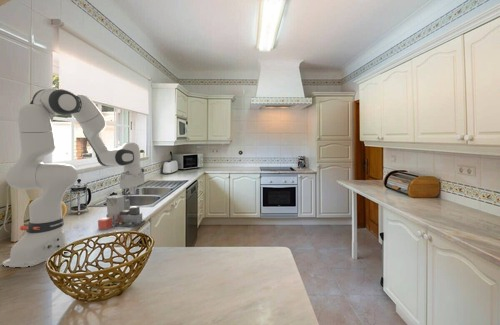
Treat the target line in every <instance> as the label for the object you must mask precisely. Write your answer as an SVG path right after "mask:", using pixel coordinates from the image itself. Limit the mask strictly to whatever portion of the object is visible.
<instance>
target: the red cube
mask: <svg viewBox="0 0 500 325" xmlns="http://www.w3.org/2000/svg"><path fill="white" fill-rule="evenodd" d="M97 224H98V225H97V228H98V230H108V229H110V228H111V227H113V222H112V218H107V217H102V218H100V219H98V220H97Z"/></svg>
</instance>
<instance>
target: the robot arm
mask: <svg viewBox="0 0 500 325" xmlns="http://www.w3.org/2000/svg"><path fill="white" fill-rule="evenodd" d="M68 115H69V116H70V115H71V116H72V117H74V119H75V120H76V122H77V123H78V124H79V125H80V128H81V129H82V133H83V135H84V137H85V139H86V140H87V142H88V143H89V145H90V147H91V148H92V150H93V152H94V154H95V156H96V160H97V162H98V163H99V165H101V166H103V167H123V171H122V173H121V174H120V177H119V189H123V190H125V189H128V190H129V195H136V192H137V188H138V186H139V185H144V184H145V172H146V169H145V168H144V167H141V163H140V160H141V152H140V151H141V150H140V146H139V145H138V143H136V142H124V143H123V144H122V145H121V146H119V147H117V148H110V147H108V146H106V144H105V143H104V141H103V139H102V137H101V136H100V133H101V132H103V131H104V130H105V128H106V126H107V121H106V118H105V116H104V115H103V113H102V112H101V110H100V109H99V108H98V107H97V105H96V104H95V103H94V101H93V100H92V99H91V98H90V97H88V95H86V94H83V93H76V94H74V93H73V92H71V91H69V90H67V89H62V88H60V89H58V88H47V89H46V88H45V89H40V90H38V91H36V92H35V93H34V94H33V97H32V100H31V101H30V103H29V104H25V105H23V106H21V107H20V108H19V111H18V119H17V120H18V121H17V122H18V131H19V132H18V133H19V138H20V154H19V157H18V160H17V161H16V162H15V164H13V165H12V166H10V168H8V169H7V171H6V173H5V180H6V183H7V184H8V186H10V187H11V188H14V189H19V190H20V189H21V190H42V193H41V195H40V196H39V197H37V198H35V199H33V200H32V201H31V202H30V203H29V205H28V214H29V215H28V216H29V221H28V224H27V225H20V227H19V230H20V231H25V233H24V234H23V235H22V237H20V238H19V240H18V241H17V242H16V243H14V245H12V247H11V249H10V251H9V252H10V253H9V254H10V255H9V257H8V258H7V259H6V260H4V261H2V264H3V265H4V266H3V265H2V266H3V267H6V266H9V267H8V268H15V267H21V268H28V266H30V267H33V266H36V265H39V264H43V262H46V261H48V260H47V259H48V258H49V257H50V256H51V255H52V254H53V253H54V252H55V251H57V250H59V249H60V248H62V247H64V246H65V245H68V242H67V240H66V235H65V231H64V223H65V221H64V217H63V211H62V207H63V206H62V203H63V199H64V196H65V194H66V192H67V191H68V190H69V189H70V188H71V187H73V186H74V185H75V184H76V183H77V181H78V178H79V173H78V170H77V168H76V167H75V166H73V165H72V164H68V163H61V162H60V163H56V162H55V163H50V162H49V163H44V158H45V157H46V156H49V155H50V154H51V153H53V152H54V151H55V149H56V141H55V133H54V126H53V120H54V117H55V116H68Z"/></svg>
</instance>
